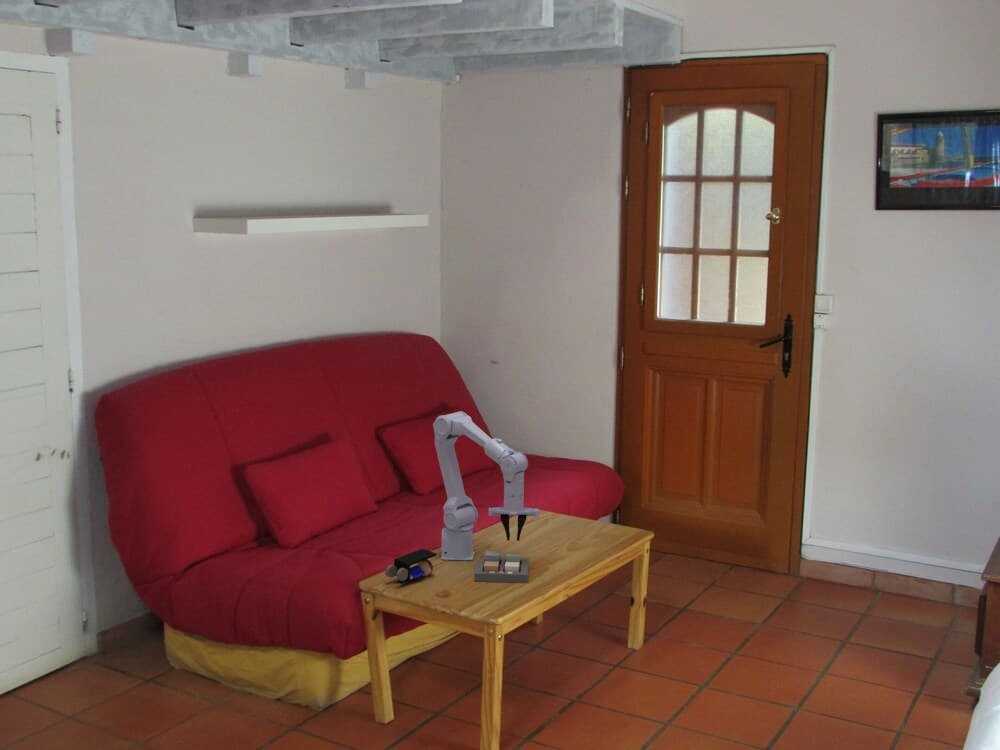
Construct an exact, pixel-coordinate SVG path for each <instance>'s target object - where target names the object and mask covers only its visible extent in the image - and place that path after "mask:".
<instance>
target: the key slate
mask: <svg viewBox="0 0 1000 750" xmlns="http://www.w3.org/2000/svg"><path fill="white" fill-rule="evenodd" d="M500 556H501V552H500V551H499V550H497V551H495V550H486V552H485V555H484V557H485V561H490V562H499V564H500Z"/></svg>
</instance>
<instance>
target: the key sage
mask: <svg viewBox="0 0 1000 750" xmlns="http://www.w3.org/2000/svg"><path fill="white" fill-rule="evenodd" d="M505 558H506V562H519V566H520V558H521V551H506V554H505Z"/></svg>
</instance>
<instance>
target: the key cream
mask: <svg viewBox="0 0 1000 750" xmlns="http://www.w3.org/2000/svg"><path fill="white" fill-rule="evenodd" d="M505 572H519V562H505Z"/></svg>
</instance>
